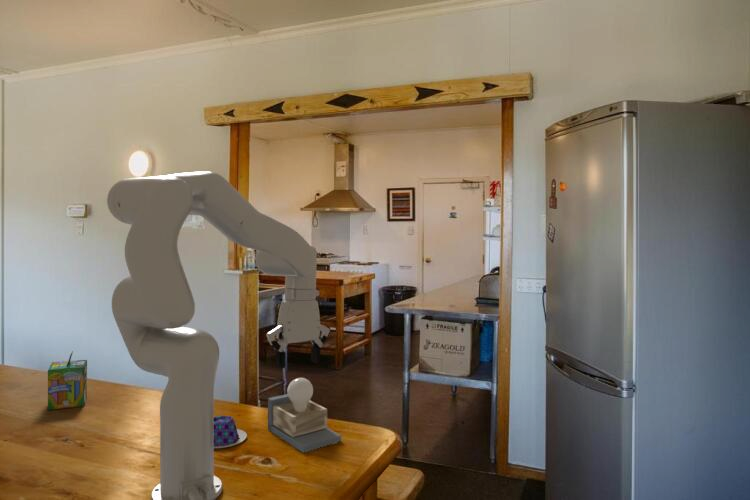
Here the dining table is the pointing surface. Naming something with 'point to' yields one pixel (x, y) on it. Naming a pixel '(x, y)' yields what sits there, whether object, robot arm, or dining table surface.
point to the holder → (299, 418)
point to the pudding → (226, 432)
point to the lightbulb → (300, 394)
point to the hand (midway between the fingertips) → (298, 364)
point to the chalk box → (67, 384)
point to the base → (301, 441)
